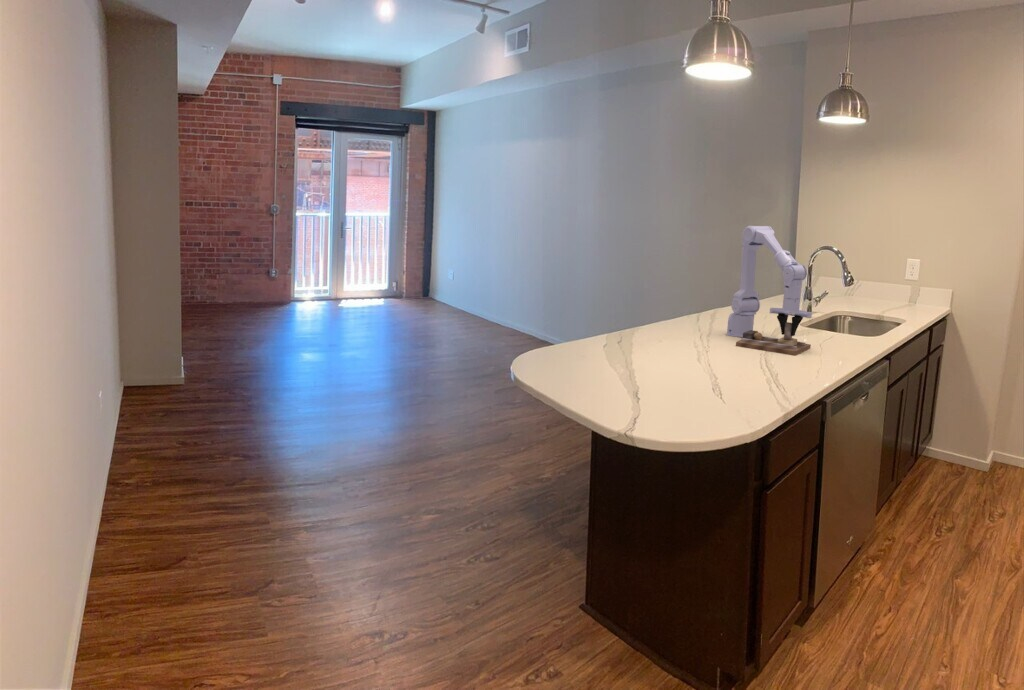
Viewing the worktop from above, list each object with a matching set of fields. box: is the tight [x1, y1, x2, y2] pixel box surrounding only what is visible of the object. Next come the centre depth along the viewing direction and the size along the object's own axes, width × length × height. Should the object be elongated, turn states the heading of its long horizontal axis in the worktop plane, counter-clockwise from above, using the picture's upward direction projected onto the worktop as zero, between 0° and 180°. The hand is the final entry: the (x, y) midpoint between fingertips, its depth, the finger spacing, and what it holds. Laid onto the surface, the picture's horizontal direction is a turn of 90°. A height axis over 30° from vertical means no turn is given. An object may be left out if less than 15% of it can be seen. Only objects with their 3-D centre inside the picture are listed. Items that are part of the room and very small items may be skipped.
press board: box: [735, 329, 811, 356], centre depth 268 cm, size 22×16×5 cm
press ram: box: [778, 321, 798, 346], centre depth 264 cm, size 5×6×8 cm
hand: (788, 334), depth 264 cm, fingers closed on press ram, 3 cm apart
